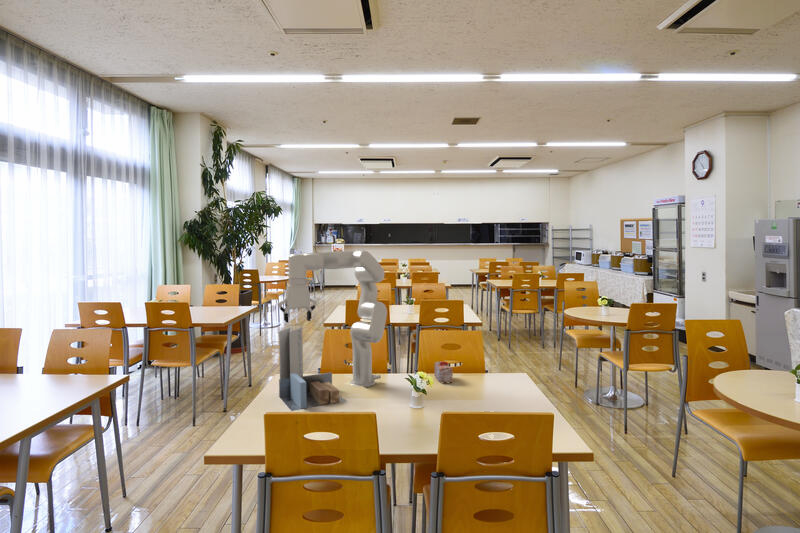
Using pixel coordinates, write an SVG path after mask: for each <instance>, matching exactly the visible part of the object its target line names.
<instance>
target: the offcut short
mask: <svg viewBox="0 0 800 533" xmlns="http://www.w3.org/2000/svg"><path fill="white" fill-rule="evenodd" d="M321 384H322V385H324V386H325V387H326V388H327V389H329V401H330V402H331V403H332V402H338V401H339V395H340V389H338V388H337V387H336V386H335V385H333V383H332V384H331V383H329V382H326V383H321Z"/></svg>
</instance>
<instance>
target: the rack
mask: <svg viewBox="0 0 800 533" xmlns="http://www.w3.org/2000/svg"><path fill="white" fill-rule="evenodd" d="M301 378H302V379H303V380H304V381H306V406H307V408H300V407H299V406H298V405H297V404H296V403H295V402H294V401H293V400H292V399H291V378H286V379H280V378H278V397H279V398H280V400H282V402H283V403H284V405H286V407H287V408H288V409H289V410H290V411H291V412H293V411H300V410H305V409H306V410H307V409H312V408H317V407H323V406H331V405H334V404H340V403H346V402H348V400H346V399H345V398H344V397H342V396H341V395H340V394H339V401H338V402H332V403H331V402H330V401H329V403H326V404H319V403H318V402H317V401H316V400H315V399H313V398H312V397H311V396H310V383H311V382H320V383H326V382H329V383H331V384H332V385H333V372H325V373H317V374H310V375H309V374H308V375H303V376H301Z"/></svg>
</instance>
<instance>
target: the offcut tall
mask: <svg viewBox="0 0 800 533" xmlns="http://www.w3.org/2000/svg"><path fill="white" fill-rule="evenodd" d="M310 396H311V397H312V398H313V399H315V400H316V401H317V402H318V403H319V404H326V403H329V389H327V388H326V387H325V386H324V385H322V384H321V383H320V382H311V383H310Z"/></svg>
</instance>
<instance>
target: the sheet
mask: <svg viewBox="0 0 800 533" xmlns="http://www.w3.org/2000/svg"><path fill="white" fill-rule="evenodd" d="M290 378H291V399H292V400H293V401H294V402H295V403H296V404H297V405H298V406H299V407H300V408H306V409H308V408H307V406H306V381H304V380H303V379H302V378H301V377H300V376H299V375H297V374H296V373H293V374H290Z"/></svg>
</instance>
